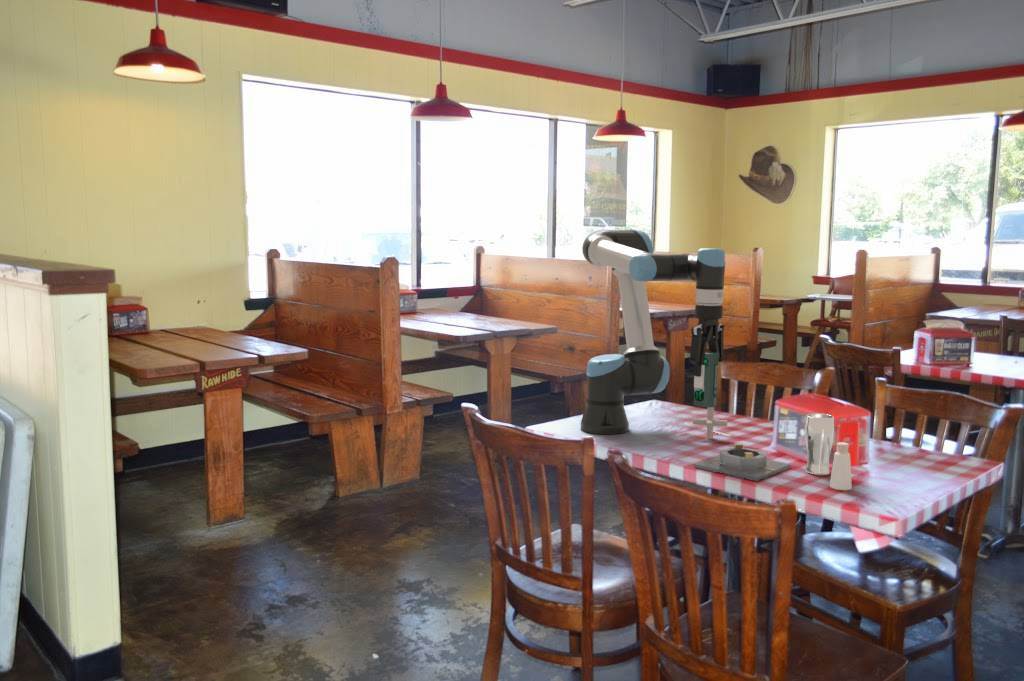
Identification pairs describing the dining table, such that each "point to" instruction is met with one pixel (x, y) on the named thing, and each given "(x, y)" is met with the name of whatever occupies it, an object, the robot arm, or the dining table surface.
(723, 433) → the butter knife
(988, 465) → the dining table surface
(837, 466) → the pepper shaker
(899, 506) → the dining table surface
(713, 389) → the can
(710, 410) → the pipe connector
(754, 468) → the collar
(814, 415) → the beer glass
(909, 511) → the dining table surface
